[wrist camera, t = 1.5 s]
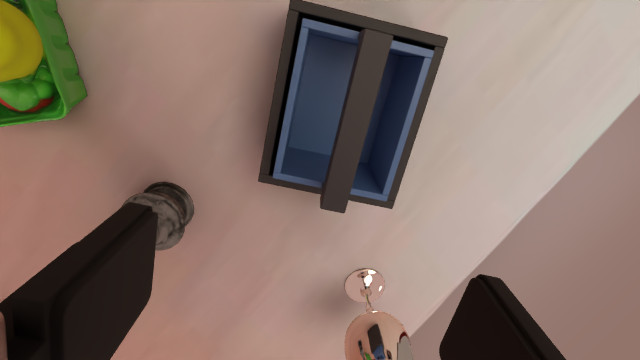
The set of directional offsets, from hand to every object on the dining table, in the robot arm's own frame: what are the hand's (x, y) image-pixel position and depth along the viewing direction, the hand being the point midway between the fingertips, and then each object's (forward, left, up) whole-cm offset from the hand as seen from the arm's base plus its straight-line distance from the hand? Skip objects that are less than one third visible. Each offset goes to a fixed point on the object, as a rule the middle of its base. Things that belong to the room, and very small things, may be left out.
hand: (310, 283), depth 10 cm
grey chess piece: (+12, -13, -24) cm, 29 cm away
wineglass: (+17, +9, -24) cm, 31 cm away
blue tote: (-2, +2, -23) cm, 23 cm away
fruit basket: (-1, -24, -24) cm, 34 cm away
